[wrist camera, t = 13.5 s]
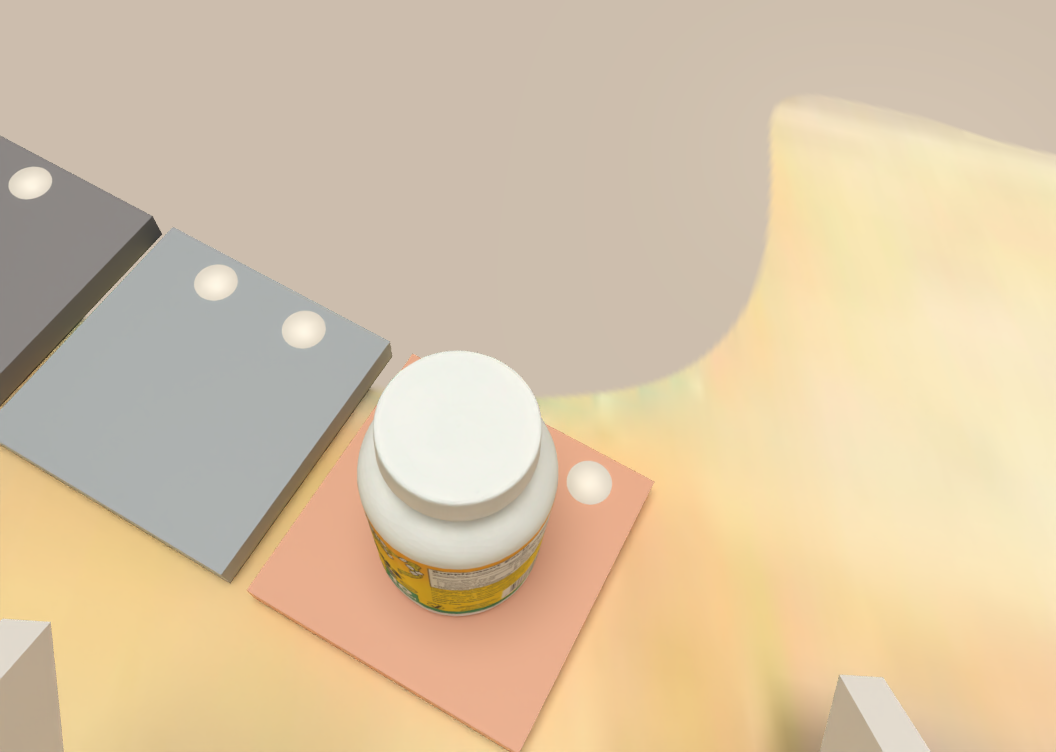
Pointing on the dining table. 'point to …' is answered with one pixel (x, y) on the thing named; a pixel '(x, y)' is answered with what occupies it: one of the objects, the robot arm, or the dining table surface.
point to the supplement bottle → (457, 481)
